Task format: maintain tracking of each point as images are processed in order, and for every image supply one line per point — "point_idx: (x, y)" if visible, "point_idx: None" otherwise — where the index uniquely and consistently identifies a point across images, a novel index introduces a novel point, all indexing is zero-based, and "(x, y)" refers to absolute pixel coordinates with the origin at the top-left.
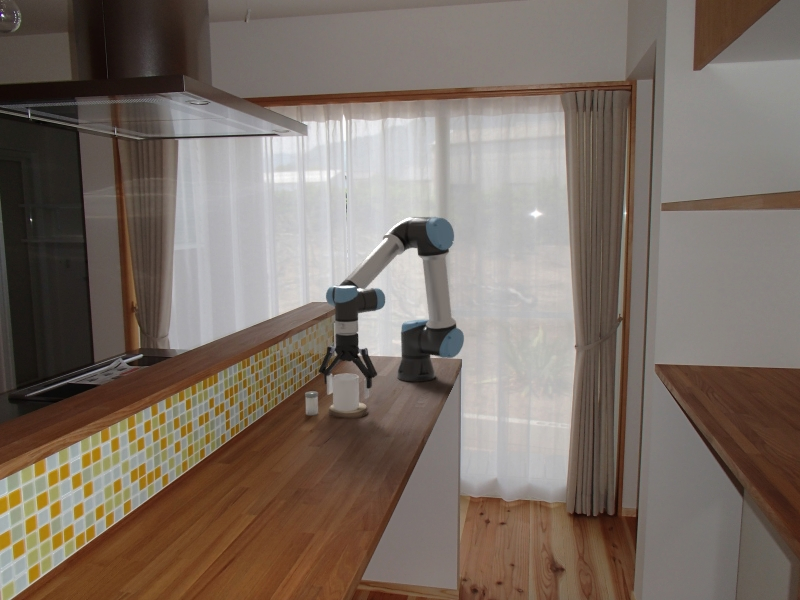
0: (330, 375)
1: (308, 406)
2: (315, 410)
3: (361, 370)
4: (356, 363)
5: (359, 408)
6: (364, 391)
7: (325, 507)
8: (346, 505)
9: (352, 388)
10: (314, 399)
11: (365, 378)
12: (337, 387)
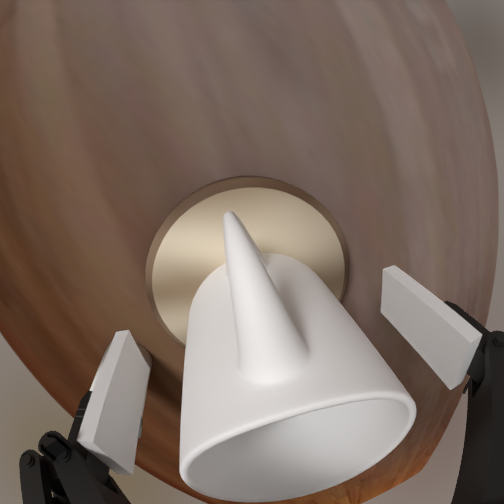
0: (114, 455)
1: None
2: (149, 375)
3: (471, 444)
4: None
5: (322, 280)
6: (405, 334)
7: (395, 469)
8: (411, 459)
9: (361, 411)
10: (142, 414)
11: (460, 373)
12: (279, 458)
